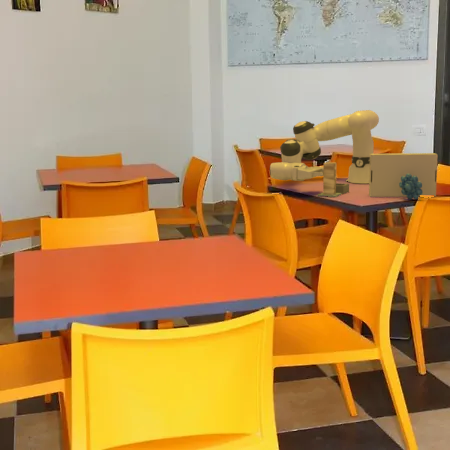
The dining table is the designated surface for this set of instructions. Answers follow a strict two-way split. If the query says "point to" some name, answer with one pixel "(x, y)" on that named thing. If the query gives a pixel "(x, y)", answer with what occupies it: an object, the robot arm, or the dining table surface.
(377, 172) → the packaging
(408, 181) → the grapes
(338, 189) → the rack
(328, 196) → the mat
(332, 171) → the block
